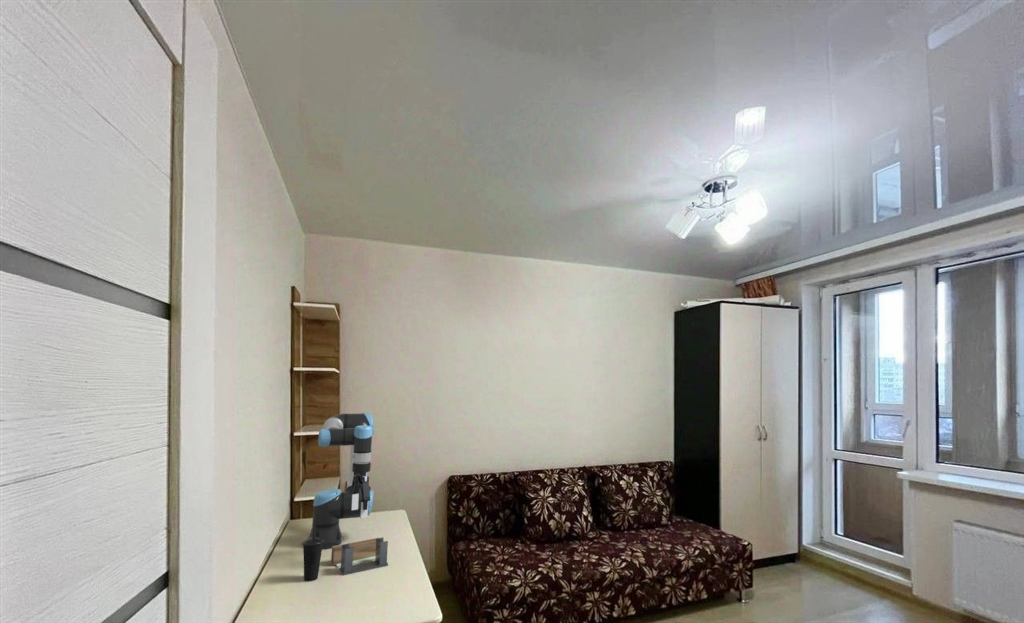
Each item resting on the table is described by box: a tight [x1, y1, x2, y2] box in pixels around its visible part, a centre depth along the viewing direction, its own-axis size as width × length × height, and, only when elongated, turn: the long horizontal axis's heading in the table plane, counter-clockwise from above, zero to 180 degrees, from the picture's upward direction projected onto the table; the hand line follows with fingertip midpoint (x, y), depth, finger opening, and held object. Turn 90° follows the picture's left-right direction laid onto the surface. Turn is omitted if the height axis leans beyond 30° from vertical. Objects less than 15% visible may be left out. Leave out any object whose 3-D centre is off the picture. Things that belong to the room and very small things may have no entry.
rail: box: [330, 537, 378, 566], centre depth 201 cm, size 4×20×6 cm, turn 124°
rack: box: [338, 536, 389, 576], centre depth 193 cm, size 6×18×10 cm, turn 124°
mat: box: [335, 556, 375, 569], centre depth 201 cm, size 9×18×1 cm, turn 124°
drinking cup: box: [302, 524, 324, 582], centre depth 183 cm, size 8×8×20 cm
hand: (359, 513), depth 203 cm, fingers open, 13 cm apart
